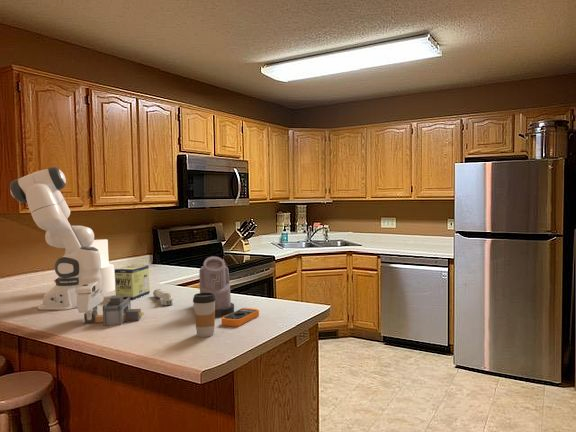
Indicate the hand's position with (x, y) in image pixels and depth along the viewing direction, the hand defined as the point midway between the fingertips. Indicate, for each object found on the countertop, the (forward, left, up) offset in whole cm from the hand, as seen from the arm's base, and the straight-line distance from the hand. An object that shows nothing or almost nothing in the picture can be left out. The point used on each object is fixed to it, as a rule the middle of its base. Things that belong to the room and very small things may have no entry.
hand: (92, 317), depth 189 cm
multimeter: (+62, -9, -2) cm, 63 cm away
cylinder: (-19, +65, -2) cm, 68 cm away
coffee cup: (+50, -26, -2) cm, 56 cm away
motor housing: (+10, 0, -2) cm, 11 cm away
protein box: (+5, +46, -2) cm, 46 cm away
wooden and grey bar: (+9, 0, -2) cm, 9 cm away
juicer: (+50, +11, -2) cm, 51 cm away
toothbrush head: (+23, +33, -2) cm, 40 cm away
